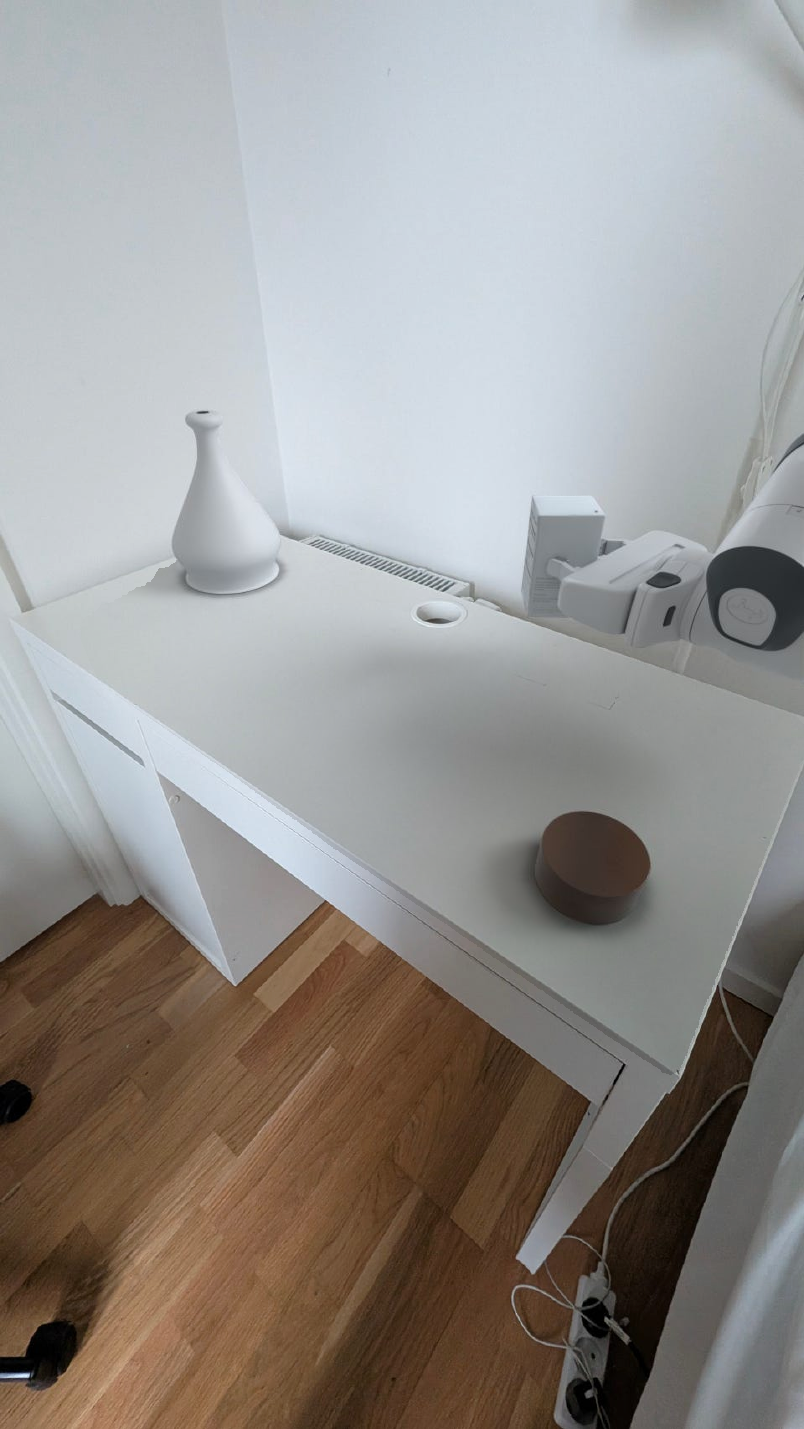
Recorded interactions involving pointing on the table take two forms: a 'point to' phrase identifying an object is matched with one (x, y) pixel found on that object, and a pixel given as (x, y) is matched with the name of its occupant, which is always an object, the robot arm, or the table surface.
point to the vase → (222, 522)
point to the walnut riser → (591, 867)
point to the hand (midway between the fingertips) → (571, 553)
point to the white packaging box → (558, 546)
